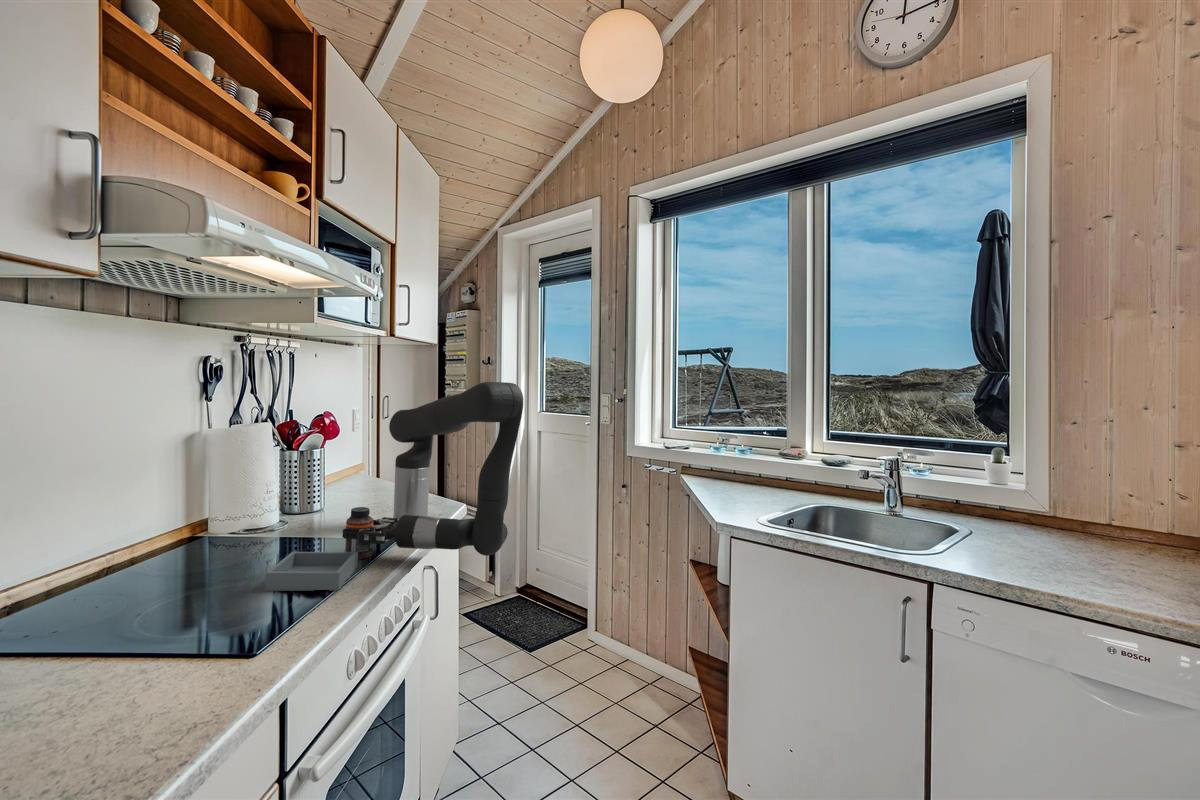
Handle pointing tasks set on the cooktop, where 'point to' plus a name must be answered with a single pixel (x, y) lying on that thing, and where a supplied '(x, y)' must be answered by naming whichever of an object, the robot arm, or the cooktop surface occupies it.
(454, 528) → the robot arm
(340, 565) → the tray
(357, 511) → the supplement bottle
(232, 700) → the cooktop surface
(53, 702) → the cooktop surface
